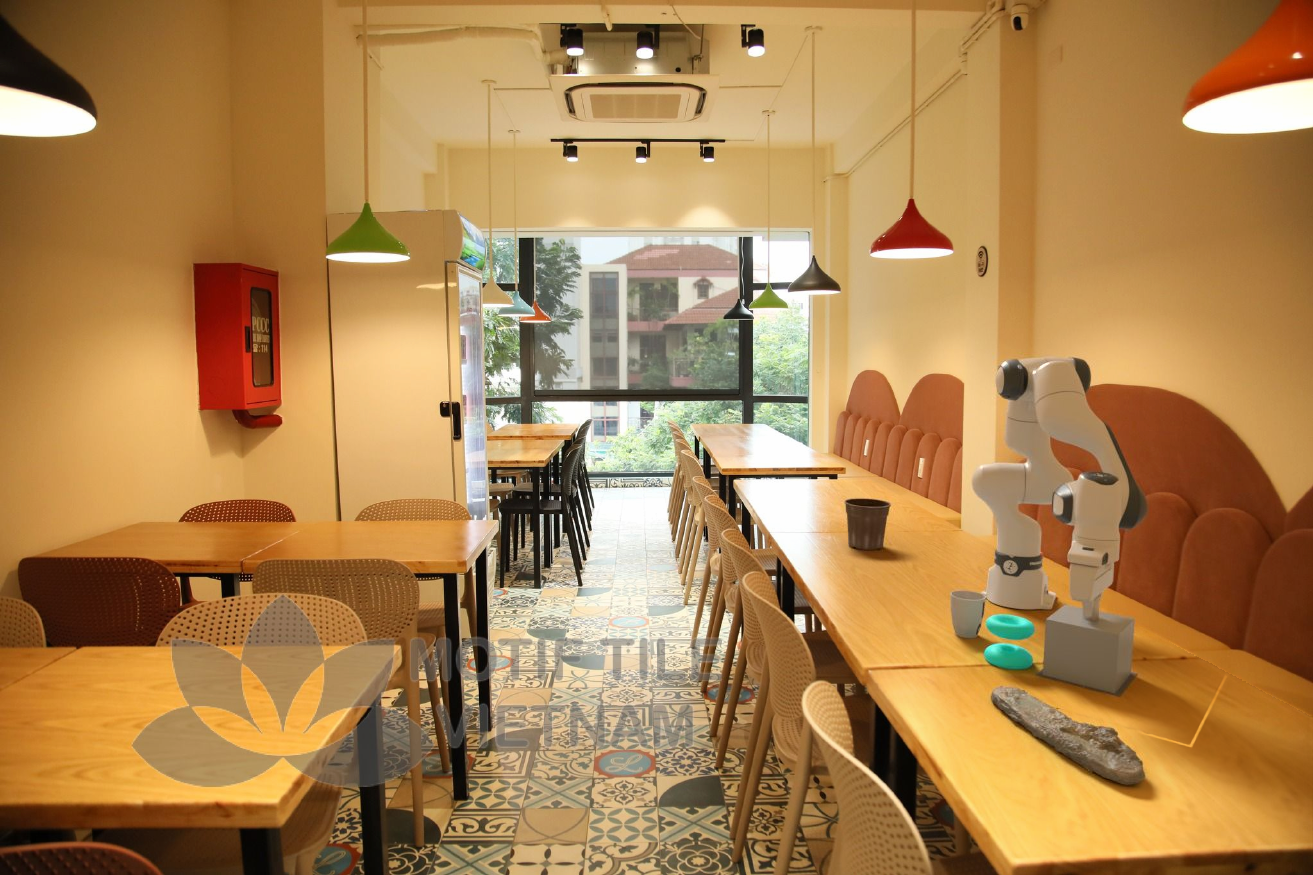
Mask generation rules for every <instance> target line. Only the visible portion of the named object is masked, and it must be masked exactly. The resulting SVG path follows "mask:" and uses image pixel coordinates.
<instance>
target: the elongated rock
mask: <svg viewBox="0 0 1313 875" xmlns="http://www.w3.org/2000/svg"><path fill="white" fill-rule="evenodd" d="M990 700H991V702H992V704H994V705H996V706H997V707H998V708H999V709H1000V711H1003V712H1004V713H1005V714H1006V715H1007V716H1009V717H1010V718H1011V719H1012V720H1013V721H1014V723H1017V722H1018V723H1017V724H1020V725H1021V726H1022V727H1023V726H1024V727H1023V728H1024V729H1027V730H1028V731H1027V730H1026V731H1027V732H1029V731H1030V732H1029V733H1031V732H1032V736H1033V737H1034V738H1037V737H1038V739H1039V740H1041V739H1042V741H1044V742H1045V743H1047V744H1049V745H1050V747H1054V749H1055V751H1056V752H1058V753H1060V754H1062V753H1063V754H1064V755H1063V754H1062V755H1063V756H1064V757H1066V756H1067V757H1066V758H1068V757H1069V758H1068V759H1070V758H1071V760H1072V761H1073V762H1074V763H1076V764H1078V765H1079V766H1081V767H1082V766H1083V767H1082V768H1084V769H1085V770H1086V769H1087V770H1086V771H1088V770H1089V771H1088V772H1089V773H1091V772H1093V773H1096V774H1097V775H1098V776H1099V775H1100V776H1101V777H1103V778H1105V779H1108V780H1111V781H1114V782H1116V783H1119V784H1120V785H1126V786H1128V785H1136V784H1139V783H1140V782H1142V781H1144V779H1145V777H1146V772H1145V771H1144V770H1145V769H1144V767H1143V765H1144V763H1143V760H1141V758H1140V757H1138V755H1137V752H1136V751H1135V750H1133V749H1132V747H1130V746H1129V745H1127V744H1125V742H1124V741H1123V740H1122V739H1120V738H1119V737H1118V736H1119V733H1118V731H1117V730H1116V729H1115V728H1114V727H1111V726H1103V725H1094V724H1091V723H1087V722H1079V721H1075V720H1073V719H1072V717H1069V716H1068V715H1066V714H1065V713H1064V712H1062V711H1060V710H1058V709H1056V708H1054V707H1052V706H1051V705H1049V704H1047V703H1046V702H1043V701H1042V700H1040V699H1038V698H1037V697H1035V696H1033V695H1031V694H1030V693H1029V692H1028V691H1026V690H1025V689H1020V688H1019V687H1018V688H1017V687H1016V686H1015V687H1014V686H1003V685H999V686H998V687H994V689H992V692H991V695H990Z"/></svg>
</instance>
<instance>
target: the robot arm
mask: <svg viewBox="0 0 1313 875" xmlns="http://www.w3.org/2000/svg"><path fill="white" fill-rule="evenodd" d="M1089 365H1090V364H1088V363H1087V361H1086V360H1085V359H1083V358H1078V357H1073V356H1070V357H1059V356H1042V357H1032V358H1031V357H1029V358H1021V359H1017V358H1013V359H1012V358H1011V359H1009V360H1005V361H1003V362H1002V363H1000V365H999V366H998V368H997V371H996V375H995V379H994V380H995V387H996V390H997V393H998V395H1000V397H1001V398H1002V399H1005V400H1007V404H1006V405H1007V406H1006V415H1005V425H1004V437H1003V439H1004V443H1005V445H1006V446H1007V447H1008V448H1009V449H1010V450H1012V451H1013V452H1015V453H1017V454H1018V455H1021V456H1023V457H1024V458H1026V462H1023V463H1022V462H1021V463H1019V462H1018V463H1016V462H991V463H984V464H980V465H979V466H977V468H976V469H975V470H974V471H973V473H972V477H971V487H972V490H973V493H975V495H976V497H977V498H979V499H980V500H981V501H982V502H983V503H984V504H986V505H987V507H989V509H990V511H991V512H992V515H993V516H994V518H995V524H996V549H995V550H994V555H993V560H994V561H993V562H994V565H992V566H991V567H989V569H988V572H987V573H988V574H987V581H986V590H982V591H981V592H980V593H981V594H983V595H985V596H986V599H987V600H988V601H989V602H991V603H993V604H994V605H998V606H1001V607H1006V608H1010V609H1018V610H1052V609H1053V606H1054V604H1055V601H1056V598H1057V593H1056V592H1054V591H1051V590H1049V589H1048V588H1049V576H1048V575H1047V574H1046V572H1045V571H1044V569H1043V568H1042V567H1043V559H1044V552H1042V551H1041V546H1042V528H1041V525H1040V524H1039V522H1038V521H1037V520H1035V519H1034V518H1033V517H1031V516H1029V515H1027V514H1024V513H1023V512H1021V511H1020V509H1019V505H1020V504H1021V505H1022V504H1025V505H1026V504H1028V505H1051V512H1052V514H1053V516H1054V517H1055V518H1056V519H1057V520H1058V521H1059V522H1060V523H1062V524H1065V525H1068V526H1074V527H1073V531H1072V535H1071V536H1072V537H1071V545H1070V549H1069V550H1068V553H1067V562H1068V563H1070V564H1069V577H1068V578H1069V595H1070V598H1071V600H1072V601H1076V602H1080V603H1081V604H1082V608H1083V615H1084V616H1088V617H1091V616H1092V615H1093V614H1094V607H1093V601H1094V598H1095V597H1097V596H1100V601H1101V599H1102V596H1103V593H1104V591H1105V590H1106V589H1107V588H1109V587H1110V586H1112V584H1113V582H1114V573H1115V572H1114V571H1115V569H1114V568H1115V562H1118V561H1119V560H1120V545H1121V544H1120V543H1121V535H1120V531H1119V530H1128V531H1129V530H1132V529H1134V528H1135V527H1138V525H1140V524H1141V523H1142V522H1143V521H1144V519H1145V518H1146V517H1147V514H1148V508H1149V507H1148V502H1147V501H1148V500H1147V497H1146V494H1144V492H1143V490H1142V489H1141V487H1140V485H1139V484H1138V483H1137V482H1136V480H1135V478H1134V476H1133V473H1132V471H1131V470H1130V467H1129V464H1128V463H1127V459H1126V458H1125V456H1124V453H1123V451H1122V449H1121V446H1120V445H1119V442H1118V441H1117V437H1116V436H1115V434H1114V432H1113V430H1112V429H1111V427H1110V426H1109V424H1108V423H1106V422H1105V421H1103V420H1101V419H1100V418H1099V417H1098V416H1097V415H1096V414H1095V412H1094V411H1093V410H1092V409H1091V407H1090V405H1089V403H1088V399H1087V396H1086V393H1088V392H1089V390H1090V387H1091V382H1092V371H1091V367H1090V366H1089ZM1051 438H1052V439H1054V440H1056V441H1059V442H1062V443H1066V444H1069V445H1072V446H1076V447H1077V448H1080V449H1082V450H1085V451H1087V452H1088V453H1090V454H1092V455H1093V456H1094V457H1095V459H1096V460H1097V461H1098V464H1099V466H1100V470H1101V471H1097V470H1091V471H1090V470H1089V471H1086V472H1085V471H1084V472H1082V473H1080V474H1079V475H1078V478H1077V479H1076V480H1075V478H1074V476H1073V475H1072V473H1071V472H1070V470H1069V469H1067V467H1065V466H1063V465H1062V464H1061V463H1060V462H1059V461H1058V459H1057V457H1056V456H1055V455H1054V452H1053V449H1052V446H1051Z"/></svg>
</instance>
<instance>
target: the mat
mask: <svg viewBox="0 0 1313 875" xmlns="http://www.w3.org/2000/svg"><path fill="white" fill-rule="evenodd" d="M1138 675H1139V674H1138V673H1136V672H1133V671H1131V674H1130V676H1129V677H1128V678H1127V679H1126V681H1125V682H1124V683H1123V684H1122V686H1121V687H1120V688H1119V689H1118V691H1117V692H1116V693H1111V692H1107V691H1103V690H1099V689H1095V688H1091V687H1087V686H1084V685H1080V684H1076V683H1072V682H1068V681H1064V680H1060V679H1056V678H1052V677H1048V676H1044V675H1043V668H1042V669H1041V670H1039V671H1038V672H1037V673H1036V674H1035V677H1036V676H1037V677H1040V678H1044V679H1048V680H1052V681H1055V682H1060V683H1063V684H1068V685H1072V686H1075V687H1080V688H1083V689H1088V690H1090V691H1091V690H1092V691H1095V692H1099V693H1102V694H1103V693H1104V694H1106V695H1110V696H1114V697H1119V698H1121V696H1122V695H1123V694H1124V693H1125V691H1126V690H1127V689H1128V687H1129V686H1130V685H1131V684H1132V682H1133V681H1134V680H1135V678H1136V677H1137V676H1138Z"/></svg>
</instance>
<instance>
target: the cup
mask: <svg viewBox="0 0 1313 875" xmlns="http://www.w3.org/2000/svg"><path fill="white" fill-rule="evenodd" d="M949 594H950V599H949V600H950V614H951V623H952V626H953V630H954V634H955V635H956V636H957V637H959V638H960V637H961V638H964V639H975V638H977V637H978V635H979V632H980V630H981V628H982V624H983V619H984V616H985V608H986V599H987V598H986V596H985V595H983V594H981V592H977V591H972V590H962V589H960V590H953V591H951V592H950V593H949Z"/></svg>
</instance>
